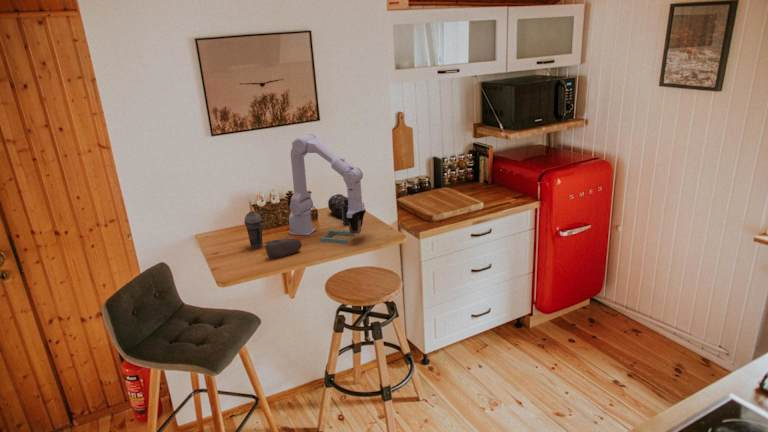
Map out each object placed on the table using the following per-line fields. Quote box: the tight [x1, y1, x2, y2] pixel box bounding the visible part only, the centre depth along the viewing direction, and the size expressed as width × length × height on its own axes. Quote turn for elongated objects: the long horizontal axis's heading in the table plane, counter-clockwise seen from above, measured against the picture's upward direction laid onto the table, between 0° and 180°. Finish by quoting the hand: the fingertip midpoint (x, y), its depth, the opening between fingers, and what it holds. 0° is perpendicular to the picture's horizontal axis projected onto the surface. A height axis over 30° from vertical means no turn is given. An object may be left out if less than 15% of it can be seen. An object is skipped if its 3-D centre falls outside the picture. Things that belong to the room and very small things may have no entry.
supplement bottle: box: [342, 196, 349, 226], centre depth 242 cm, size 7×7×12 cm
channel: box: [319, 229, 356, 244], centre depth 226 cm, size 12×10×2 cm
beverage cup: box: [244, 200, 263, 250], centre depth 219 cm, size 7×7×20 cm
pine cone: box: [327, 193, 347, 221], centre depth 253 cm, size 10×18×10 cm, turn 36°
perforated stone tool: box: [264, 238, 303, 259], centre depth 211 cm, size 15×5×7 cm, turn 115°
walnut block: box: [348, 219, 362, 235], centre depth 222 cm, size 4×4×5 cm
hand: (357, 228), depth 222 cm, fingers closed on walnut block, 4 cm apart
